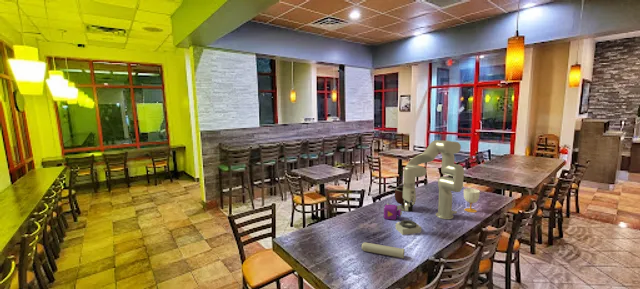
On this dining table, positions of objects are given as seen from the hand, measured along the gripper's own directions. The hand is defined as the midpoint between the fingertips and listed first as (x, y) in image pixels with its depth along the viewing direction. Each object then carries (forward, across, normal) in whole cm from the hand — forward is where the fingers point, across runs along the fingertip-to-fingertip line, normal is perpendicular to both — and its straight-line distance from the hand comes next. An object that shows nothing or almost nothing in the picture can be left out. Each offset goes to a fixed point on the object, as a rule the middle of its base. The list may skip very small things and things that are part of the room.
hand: (408, 210), depth 189 cm
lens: (0, 0, 0) cm, 0 cm away
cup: (+14, +20, -69) cm, 73 cm away
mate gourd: (+15, +38, -19) cm, 45 cm away
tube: (+16, -23, +30) cm, 41 cm away
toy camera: (+15, +23, -1) cm, 28 cm away
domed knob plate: (+15, 0, -1) cm, 15 cm away
